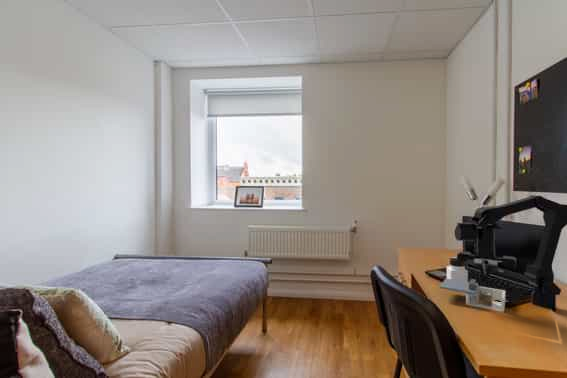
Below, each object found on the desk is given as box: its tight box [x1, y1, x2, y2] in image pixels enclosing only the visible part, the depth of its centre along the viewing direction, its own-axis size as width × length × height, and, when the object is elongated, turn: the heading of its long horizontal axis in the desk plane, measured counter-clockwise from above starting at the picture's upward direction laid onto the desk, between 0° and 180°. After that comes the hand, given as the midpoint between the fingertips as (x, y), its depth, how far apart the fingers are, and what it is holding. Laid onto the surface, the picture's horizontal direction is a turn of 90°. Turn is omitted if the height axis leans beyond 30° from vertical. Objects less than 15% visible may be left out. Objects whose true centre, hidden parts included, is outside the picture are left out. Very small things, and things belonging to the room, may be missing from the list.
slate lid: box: [439, 278, 479, 294], centre depth 129 cm, size 12×12×3 cm
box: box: [465, 285, 506, 313], centre depth 124 cm, size 12×12×5 cm
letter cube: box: [479, 291, 492, 306], centre depth 123 cm, size 4×4×4 cm
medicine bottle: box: [446, 256, 469, 282], centre depth 148 cm, size 7×7×12 cm
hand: (485, 281), depth 123 cm, fingers closed
